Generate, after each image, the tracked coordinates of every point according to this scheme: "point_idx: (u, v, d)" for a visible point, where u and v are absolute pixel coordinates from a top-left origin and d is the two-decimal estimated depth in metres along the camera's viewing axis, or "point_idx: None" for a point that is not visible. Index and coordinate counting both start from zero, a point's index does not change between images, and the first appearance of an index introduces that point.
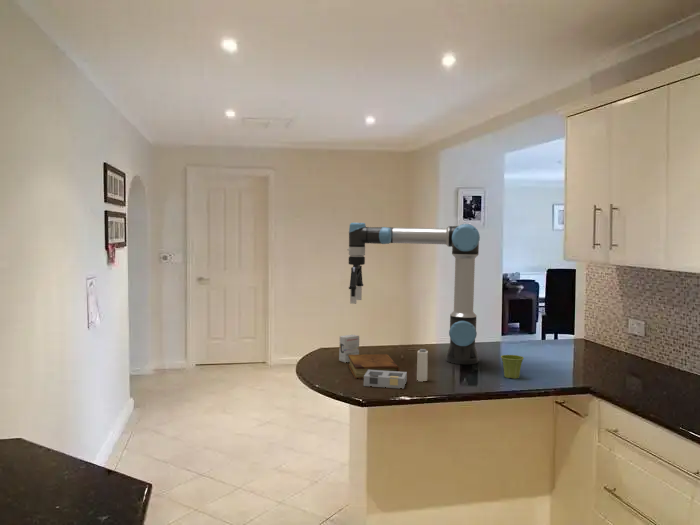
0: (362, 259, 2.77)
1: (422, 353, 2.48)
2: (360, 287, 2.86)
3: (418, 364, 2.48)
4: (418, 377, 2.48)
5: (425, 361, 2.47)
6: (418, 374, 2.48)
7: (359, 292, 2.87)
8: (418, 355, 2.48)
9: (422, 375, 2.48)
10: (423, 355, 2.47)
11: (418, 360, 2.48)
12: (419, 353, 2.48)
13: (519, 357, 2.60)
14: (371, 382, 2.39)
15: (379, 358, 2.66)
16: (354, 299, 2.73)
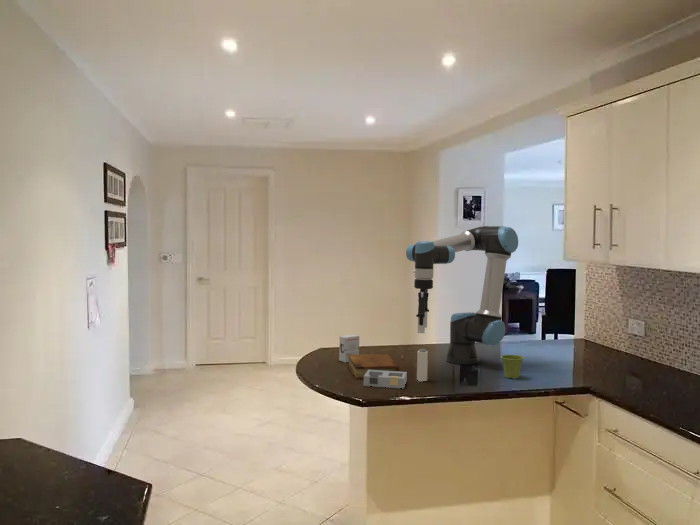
0: (430, 283, 2.45)
1: (422, 353, 2.48)
2: (426, 313, 2.55)
3: (418, 364, 2.48)
4: (418, 377, 2.48)
5: (425, 361, 2.47)
6: (418, 374, 2.48)
7: (424, 319, 2.55)
8: (418, 355, 2.48)
9: (422, 375, 2.48)
10: (423, 355, 2.47)
11: (418, 360, 2.48)
12: (419, 353, 2.48)
13: (519, 357, 2.60)
14: (371, 382, 2.39)
15: (379, 358, 2.66)
16: (422, 328, 2.42)
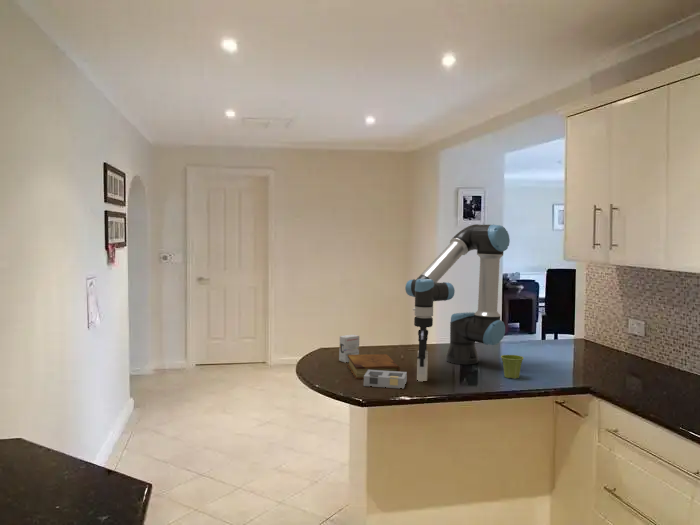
0: (430, 321, 2.46)
1: None
2: None
3: (418, 364, 2.48)
4: (418, 377, 2.48)
5: (425, 361, 2.47)
6: (418, 374, 2.48)
7: None
8: (418, 355, 2.48)
9: (422, 375, 2.48)
10: None
11: (418, 360, 2.48)
12: None
13: (519, 357, 2.60)
14: (371, 382, 2.39)
15: (379, 358, 2.66)
16: (423, 369, 2.47)
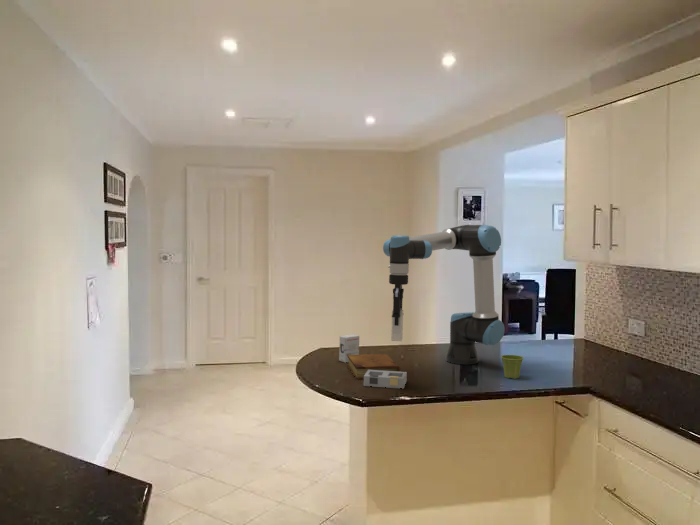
0: (405, 278, 2.38)
1: None
2: None
3: None
4: (393, 337, 2.40)
5: (400, 320, 2.39)
6: (393, 333, 2.40)
7: None
8: None
9: (397, 334, 2.40)
10: None
11: None
12: None
13: (519, 357, 2.60)
14: (371, 382, 2.39)
15: (379, 358, 2.66)
16: (398, 328, 2.39)
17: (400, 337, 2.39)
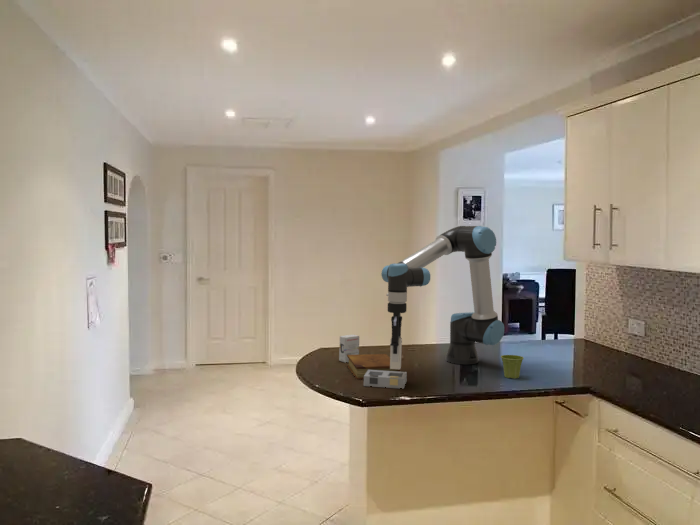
0: (404, 306, 2.38)
1: None
2: None
3: (391, 351, 2.40)
4: (391, 365, 2.40)
5: None
6: (391, 362, 2.40)
7: None
8: (391, 342, 2.40)
9: (395, 362, 2.40)
10: None
11: (391, 347, 2.40)
12: None
13: (519, 357, 2.60)
14: (371, 382, 2.39)
15: (379, 358, 2.66)
16: (396, 357, 2.39)
17: (399, 365, 2.40)
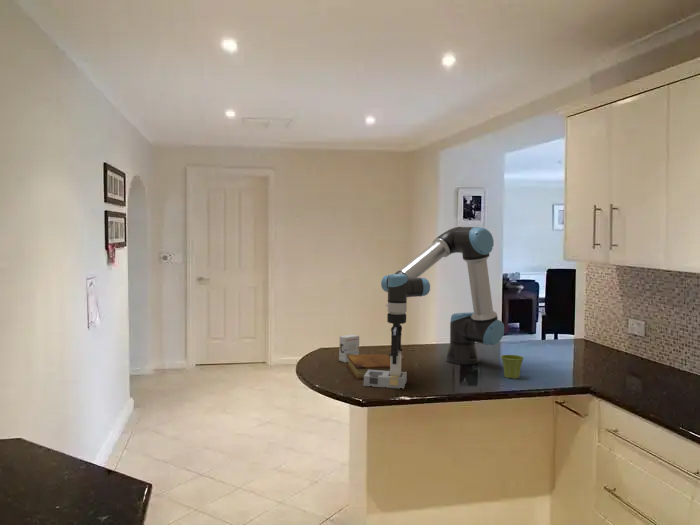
0: (403, 317, 2.38)
1: None
2: None
3: None
4: None
5: (398, 362, 2.40)
6: None
7: None
8: None
9: None
10: None
11: None
12: None
13: (519, 357, 2.60)
14: (371, 382, 2.39)
15: (378, 358, 2.66)
16: (395, 367, 2.38)
17: None
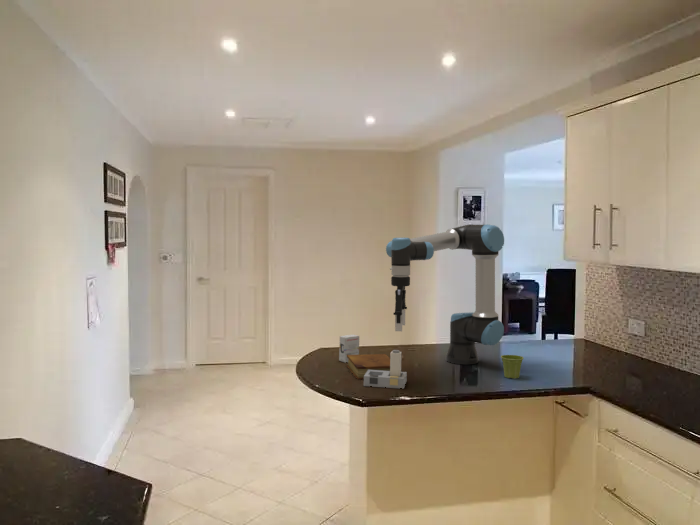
0: (407, 280, 2.41)
1: (395, 354, 2.40)
2: (403, 311, 2.51)
3: (391, 365, 2.41)
4: None
5: (398, 362, 2.40)
6: None
7: (402, 316, 2.51)
8: (391, 356, 2.40)
9: None
10: (396, 356, 2.40)
11: (391, 361, 2.40)
12: (392, 354, 2.40)
13: (519, 357, 2.60)
14: (371, 382, 2.39)
15: (378, 358, 2.66)
16: (400, 326, 2.38)
17: None
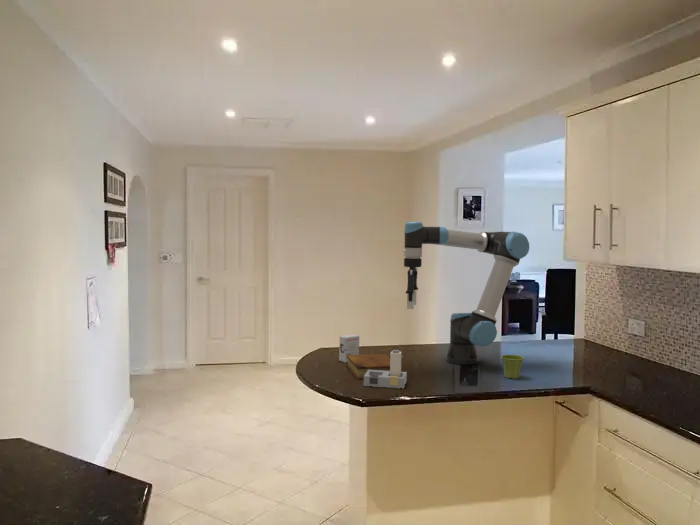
0: (419, 261, 2.57)
1: (395, 354, 2.40)
2: (415, 291, 2.67)
3: (391, 365, 2.41)
4: None
5: (398, 362, 2.40)
6: None
7: (414, 296, 2.67)
8: (391, 356, 2.40)
9: None
10: (396, 356, 2.40)
11: (391, 361, 2.40)
12: (392, 354, 2.40)
13: (519, 357, 2.60)
14: (371, 382, 2.39)
15: (378, 358, 2.67)
16: (411, 304, 2.54)
17: None
